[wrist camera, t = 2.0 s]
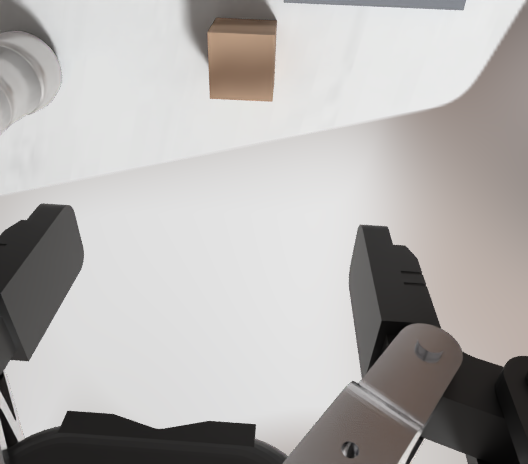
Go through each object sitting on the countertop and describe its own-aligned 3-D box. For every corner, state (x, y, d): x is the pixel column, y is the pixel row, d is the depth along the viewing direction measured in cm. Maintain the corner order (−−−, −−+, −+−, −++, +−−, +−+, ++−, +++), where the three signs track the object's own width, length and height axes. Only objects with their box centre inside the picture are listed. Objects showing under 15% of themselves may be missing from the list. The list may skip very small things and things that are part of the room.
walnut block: (216, 17, 38) (207, 32, 34) (276, 20, 38) (275, 35, 34) (218, 78, 41) (210, 98, 37) (274, 81, 41) (272, 101, 37)
